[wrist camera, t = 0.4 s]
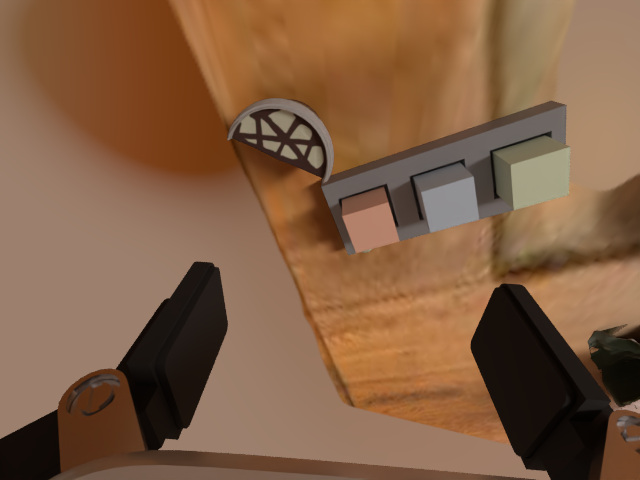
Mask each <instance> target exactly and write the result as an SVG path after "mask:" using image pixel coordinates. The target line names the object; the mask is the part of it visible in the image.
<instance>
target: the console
mask: <svg viewBox="0 0 640 480" xmlns="http://www.w3.org/2000/svg"><path fill="white" fill-rule="evenodd" d="M544 135H545V136H548V137H550V138H552V139H554V140H556V141H559V142H561V143H563V144H566V143H565V142H566V139H565V138H566V105H565V104H561V103H557V102H554V101H550V102H547V103H544V104H541V105H538V106H535V107H532V108H529V109H526V110H523V111H520V112H517V113H514V114H511V115H508V116H505V117H503V118H500V119H497V120H494V121H491V122H488V123H485V124H482V125H479V126H476V127H473V128H470V129H467V130H464V131H461V132H458V133H455V134H452V135H449V136H447V137H444V138H441V139H438V140H435V141H432V142H429V143H426V144H423V145H420V146H417V147H414V148H411V149H408V150H405V151H402V152H399V153H396V154H393V155H391V156H388V157H385V158H382V159H379V160H376V161H373V162H370V163H367V164H364V165H361V166H358V167H355V168H352V169H349V170H346V171H343V172H340V173H338V174H335V175H332V176H330V177H329V179H328V180H327V182H324V183H323V179H322V184H321V188H322V190H323V193H324V195H325V198H326V200H327V203H328V205H329V208H330V210H331V213H332V215H333V218H334V220H335V223H336V225H337V228H338V230H339V233H340V235H341V238H342V240H343V243H344V246H345V248H346V251H347V253H348V255H351V254H354V253H356V251H355V249H354V246H353V244H352V241H351V238H350V236H349V233H348V230H347V228H346V225H345V223H344V220H343V217H342V200H343V199H346V198H349V197H352V196H355V195H359V194H362V193H365V192H368V191H371V190H374V189H377V188H381V187H384V189H385V192H386V196H387V199H388V203H389V206H390V209H391V213H392V216H393V220H394V223H395V227H396V230H397V234H398V237H399V241H402V240H406V239H409V238H413V237H417V236H420V235H424V234H428V233H430V231H429V229H428V227H427V225H426V222H425V220H424V218H423V216H422V213H421V209H420V204H419V200H418V196H417V192H416V187H415V183H414V179H413V177H415V176H418V175H422V174H425V173H428V172H431V171H434V170H437V169H440V168H444V167H447V166H450V165H453V164H456V163H459V162H460V163H461V164H462V165H463V166H464V167H465V168H466V169H467V170H468V171H469V172H470V173H471V174H472V175H473V176H474V184H475V191H476V199H477V207H478V214H479V219H483V218H486V217H490V216H494V215H497V214H501V213H505V212H508V211H512V210H513V209H512V208H511V207H510V206H509V205H508V204H507V203H506V202H505V201H504V200H503V199H502V198H501V197H500V196H499V195H498V194H497V193H496V182H495V172H494V161H493V152H494V151H497V150H500V149H503V148H507V147H510V146H513V145H516V144H519V143H522V142H525V141H529V140H532V139H535V138H538V137H541V136H544ZM370 250H371V249H369V250H366V251H362V252H364V253H366V252H369V251H370Z"/></svg>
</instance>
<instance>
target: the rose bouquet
mask: <svg viewBox="0 0 640 480" xmlns="http://www.w3.org/2000/svg"><path fill="white" fill-rule="evenodd" d="M626 325H627V324H626ZM626 325H622V326H618V327H614V328H611V329H607V330H603V331H594V333H593V335H592V337H591V338H590V339H589V340H588V344H589V349H590V348H591V347H595V348H598V349H599V350H598V351H596V352H594V353H591V352H590V354H591V359H592V360H593V362H594V363H595V364H596V365H597V367H598V369H602V372H603V380H602V381H603V383H604V385H605V387H606V388H607V390H608V391H609V392H610V393H611V395H612V396H613V399H614V401H615V403H616V404H617V405H618V406H619V407H621V406H622V407H624V406H625V405H630V404H631V403H632V402H635V401H638V400H639V399H640V344H639V343H637V342H636V341H635V340H634V339H622V338H615V336H614V335H613V334H614V333H616V332H617V331H619V330H620V329H622V327H623V328H624V327H626ZM626 361H627V362H626ZM600 373H601V372H600ZM635 408H636V409H637V407H636V406H635ZM621 409H622V408H621Z"/></svg>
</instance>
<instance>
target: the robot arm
mask: <svg viewBox="0 0 640 480" xmlns="http://www.w3.org/2000/svg"><path fill="white" fill-rule="evenodd" d="M227 327H228V321H227V315H226V309H225V303H224V296H223V289H222V284H221V277H220V271H219V268H218V267H214V264H213V263H208V262H194V263H193V265H192V266H191V268H190V269H189V271H188V272H187V274H186V275H185V277H184V278H183V280H182V281H181V283H180V284H179V286H178V287H177V289H176V290H175V292H174V293H173V295H172V296H171V297H170V298H168V299H165V300H164V301H163V302H162V303H161V305H160V306H159V308H158V309H157V310H156V312H155V313H154V315H153V316H152V318H151V319H150V320H149V322H148V323H147V325H146V326H145V328H144V329H143V331H142V332H141V333H140V335H139V336H138V338H137V339H136V341H135V342H134V344H133V345H132V346H131V348H130V349H129V351H128V352H127V354H126V355H125V357H124V358H123V359H122V361H121V362H120V364H119V365H118V367H117V368H116V369H101V370H98V371H95V372H92V373H89V374H87V375H86V376H84V377H82V378H80V379H79V380H78V381H76V382H75V383H74V384H72V385H71V386H70V387H69V388H68V390H67V391H66V392H65V393H64V394H63V396H62V398H61V400H60V402H59V406H58V409H57V410H55V411H54V412H52V413H49V414H47V415H46V416H44V417H42V418H40V419H38V420H36V421H34V422H32V423H30V424H28V425H26V426H24V427H23V428H21V429H19V430H17V431H15V432H13V433H11V434H9V435H7V436H5V437H3V438H1V439H0V480H534V479H525V478H514V477H502V476H491V475H480V474H468V473H458V472H448V471H436V470H424V469H413V468H402V467H390V466H378V465H367V464H355V463H354V464H353V463H342V462H332V461H320V460H307V459H295V458H282V457H270V456H257V455H245V454H229V453H213V452H197V451H181V450H175V451H174V450H158V449H159V448H161V447H162V445H163V443H164V441H165V439H176V440H178V439H179V436H180V434H181V431H182V429H183V428H188V426H189V425H190V423H191V420H192V418H193V415H194V413H195V410H196V408H197V405H198V403H199V400H200V397H201V395H202V393H203V390H204V388H205V385H206V383H207V380H208V378H209V375H210V373H211V370H212V368H213V365H214V363H215V360H216V357H217V355H218V352H219V350H220V347H221V345H222V342H223V340H224V337H225V335H226V332H227ZM471 351H472V354H473V356H474V359H475V361H476V363H477V366H478V368H479V370H480V373H481V375H482V377H483V380H484V382H485V384H486V387H487V389H488V391H489V394H490V396H491V399H492V401H493V403H494V406H495V408H496V410H497V413H498V415H499V417H500V420H501V422H502V424H503V427H504V429H505V432H506V434H507V436H508V439H509V441H510V443H511V446H512V448H513V450H514V452H515V453H516V455H518V456H520V457H521V459H522V461H523V463H524V465H525V467H526V469H531V470H542V471H547V472H548V475H549V477H550V479H551V480H640V414H639V413H637V412H633V411H629V410H616V411H613V409H612V408H611V407H610V405H609V403H610V402H611V401H610V399H609V398H608V397H607V395H606V394H605V393H604V391H603V390H602V389H601V387H600V386H599V385H598V383H597V382H596V381H595V379H594V378H593V377H592V375H591V374H590V373H589V371H588V370H587V369H586V367H585V366H584V365H583V364H582V362H581V361H580V360H579V358H578V357H577V356H576V354H575V353H574V352H573V350H572V349H571V348H570V346H569V345H568V344H567V342H566V341H565V340H564V338H563V337H562V336H561V334H560V333H559V332H558V330H557V329H556V328H555V326H554V325H553V324H552V323H551V321H550V320H549V319H548V317H547V316H546V315H545V313H544V312H543V311H542V309H541V308H540V307H539V305H538V304H537V303H536V301H535V300H534V299H533V297H532V296H531V295H530V293H529V292H528V291H527V289H526V288H525V287H524V286H523V285H518V284H501V285H500V286H499V287H497V288H495V289H494V291H493V293H492V295H491V298H490V300H489V302H488V304H487V307H486V309H485V311H484V313H483V316H482V318H481V320H480V322H479V324H478V327H477V329H476V331H475V333H474V336H473V338H472V340H471Z"/></svg>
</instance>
